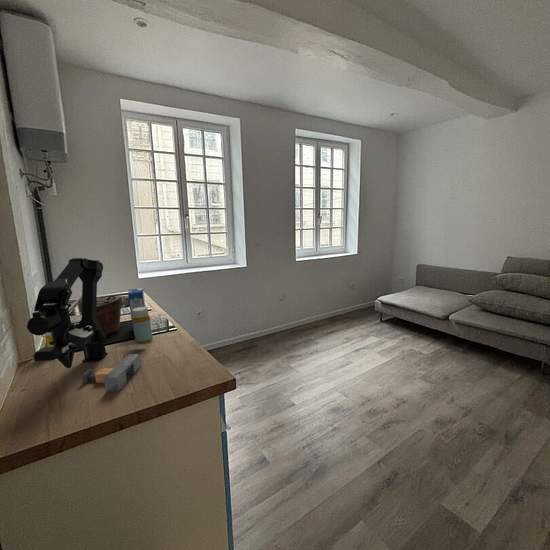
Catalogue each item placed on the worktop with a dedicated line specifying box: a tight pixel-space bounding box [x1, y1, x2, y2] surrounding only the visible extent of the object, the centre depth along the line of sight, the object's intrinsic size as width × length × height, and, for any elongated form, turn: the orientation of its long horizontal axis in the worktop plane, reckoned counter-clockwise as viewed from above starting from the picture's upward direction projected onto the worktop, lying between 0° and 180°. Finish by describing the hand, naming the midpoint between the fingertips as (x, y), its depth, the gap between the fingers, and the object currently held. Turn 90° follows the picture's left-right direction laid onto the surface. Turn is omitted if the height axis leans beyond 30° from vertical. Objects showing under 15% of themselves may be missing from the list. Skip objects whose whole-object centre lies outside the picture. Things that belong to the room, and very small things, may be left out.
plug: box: [80, 367, 115, 385], centre depth 96 cm, size 10×4×3 cm, turn 92°
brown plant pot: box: [78, 295, 125, 335], centre depth 142 cm, size 18×20×18 cm
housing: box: [103, 353, 142, 393], centre depth 96 cm, size 4×16×5 cm, turn 2°
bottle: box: [132, 306, 154, 345], centre depth 127 cm, size 7×7×15 cm
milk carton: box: [127, 287, 146, 334], centre depth 141 cm, size 10×6×20 cm, turn 23°
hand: (69, 367), depth 95 cm, fingers closed
